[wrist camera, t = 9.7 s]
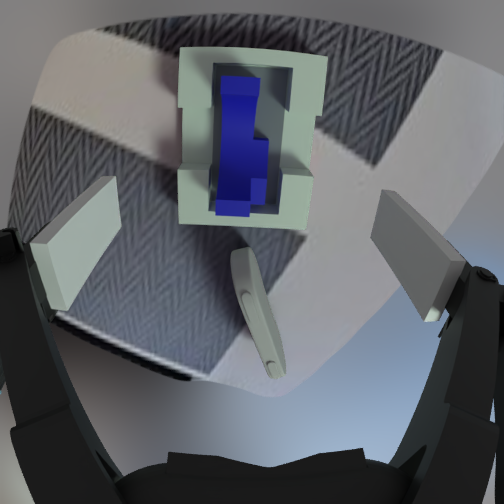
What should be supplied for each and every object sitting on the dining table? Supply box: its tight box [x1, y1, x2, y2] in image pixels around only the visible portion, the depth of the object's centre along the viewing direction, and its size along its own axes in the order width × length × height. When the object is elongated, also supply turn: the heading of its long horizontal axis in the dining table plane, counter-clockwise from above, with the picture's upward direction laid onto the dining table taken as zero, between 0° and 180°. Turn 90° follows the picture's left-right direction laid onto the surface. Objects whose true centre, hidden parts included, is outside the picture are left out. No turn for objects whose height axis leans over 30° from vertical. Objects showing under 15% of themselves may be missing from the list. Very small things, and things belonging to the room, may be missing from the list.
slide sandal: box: [230, 247, 286, 379], centre depth 38 cm, size 20×2×8 cm, turn 15°
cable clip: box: [215, 76, 269, 217], centre depth 27 cm, size 12×4×6 cm, turn 176°
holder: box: [178, 47, 328, 230], centre depth 29 cm, size 13×18×4 cm
